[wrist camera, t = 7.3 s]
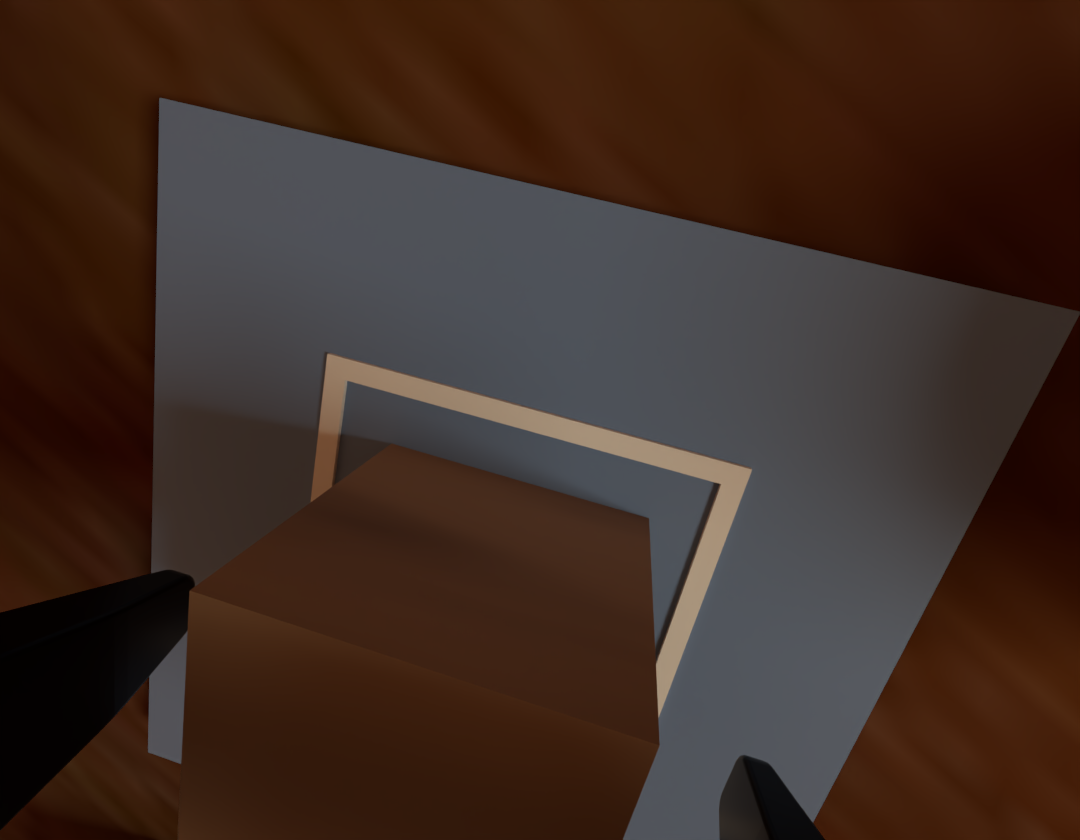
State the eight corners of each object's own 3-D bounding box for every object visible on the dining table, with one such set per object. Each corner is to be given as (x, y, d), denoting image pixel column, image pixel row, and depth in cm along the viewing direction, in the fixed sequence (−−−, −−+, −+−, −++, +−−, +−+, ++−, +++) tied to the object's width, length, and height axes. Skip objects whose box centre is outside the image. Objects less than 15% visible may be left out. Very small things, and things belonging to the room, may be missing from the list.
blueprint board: (732, 924, 13) (739, 969, 12) (173, 727, 15) (144, 755, 14) (1042, 307, 9) (1086, 312, 8) (195, 110, 10) (154, 95, 9)
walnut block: (579, 727, 12) (540, 1050, 7) (357, 653, 12) (175, 908, 7) (649, 518, 10) (660, 745, 5) (391, 443, 11) (189, 589, 6)
